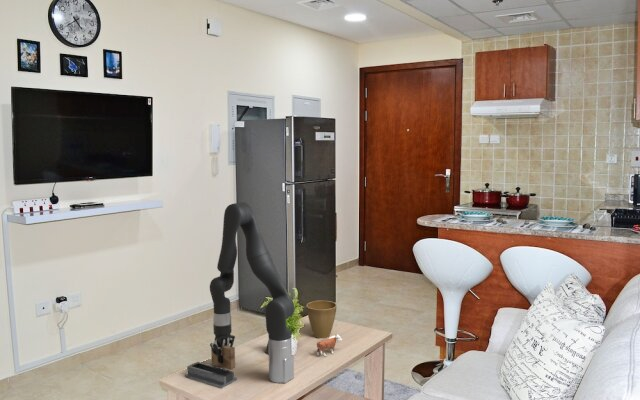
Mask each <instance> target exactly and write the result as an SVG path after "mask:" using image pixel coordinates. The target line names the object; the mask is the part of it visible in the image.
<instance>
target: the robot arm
mask: <svg viewBox="0 0 640 400" xmlns="http://www.w3.org/2000/svg"><path fill="white" fill-rule="evenodd" d="M239 228H241V230H242V232H243V234H244V237H245V254H246V260H247V262H248V265H249V267H250V269H251V272H252V273H253V274H254V275H255V277H256V278H257V279H258V280H259V281H260V282H261V283H262V284H263V285H264V286H265V287H266V288H267V290H268V292H269V293H270V296H271V298H272V300H269V301H268V302H267V304H266V306H265V326H266V327H265V328H266V331H267V336H268V340H269V354H268V379H269V380H270V382H273V383H276V384H277V383H278V384H280V383H281V384H282V383H283V384H286V383H288V382H290V381H291V380H293V379H294V378H295V367H294V366H295V364H294V363H295V360H294V359H295V355H293V353H292V330H291V329H290V328H289V327H287V319H289V318H291V317H292V316H293V315H294V313H295V310H296V309H295V304H294V303H295V302H294V301H293V299H292V297H291V296H290V294H289V292H288V290H287V289H286V286H285V285H284V283H283V281H282V278H281V277H280V274H279V272H278V270H277V268H276V266H275V264H274V261H273V258H272V257H271V254H270V252H269V249H268V247H267V245H266V244H265V240H264V238H263V236H262V233H261V232H260V229H259V226H258V222H257V219H256V216H255V213H254V210H253V209H252V206H251V205H250V204H249V203H246V202H236V203H231V204H229V205H228V206H227V207H226V208H225V209H224V213H223V227H222V238H221V246H220V247H221V248H220V253H219V256H218V261H217V267H216V268H217V270H218V272H219V273H220V274H219V276H217V277H214V278H213V279H212V280H211V281H210V283H209V292H210V297H211V300H212V303H213V318H212V321H213V325H212V326H213V334H214V336H215V337H214V341H213V342H211V343H210V344H209V346H210V347H211V348H212V351H213V353H214V354H216V355H218V362H219V363H221V364H222V363H223V350H224V346H225V345H226V346H230V347H234V346H233V345H234V342H235V339H236V335H232V313H231V300H230V299H229V297H226V296H225V295H226V294H225V293H226V292H228V291H230V290H231V289H232V287H233V286H234V283H235V265H236V261H237V256H238V246H237V242H236V240H237V232H238V230H239ZM219 346H220V347H219Z"/></svg>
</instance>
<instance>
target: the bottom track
mask: <svg viewBox="0 0 640 400" xmlns="http://www.w3.org/2000/svg"><path fill="white" fill-rule="evenodd" d="M186 367H187V371H186V372H187V373H185V374H184V378H186V379H190V380H192V381H196V382H200V383H203V384H205V385H210V386H213V387H217V388H219V389H220V388H221V389H223V388H226V387H227V386H228V385H231V384H232V383H234V382H236V381H237V380H238V377H236V376H235V371H233V370H229V369H225V368H222V367H218V366H214V365H212V364H207V363H204V362H200V361H196V362H194V363H192V364H190V365H188V366H186Z"/></svg>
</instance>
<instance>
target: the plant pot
mask: <svg viewBox="0 0 640 400" xmlns="http://www.w3.org/2000/svg"><path fill="white" fill-rule="evenodd" d="M337 307H338V306H337V303H336V302H334V301H331V300H314V301H311V302H308V303H306V311H307V316H308V321H309V324H310V329H311V331H312V333H313V337H315V338H316V337H317V339H320V338H324V339H328V338H329V337H331V336H330V335H331V334H332V333H331V332H332V330H333V326H334V323H335V318H336V312H337ZM327 337H328V338H327Z"/></svg>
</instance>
